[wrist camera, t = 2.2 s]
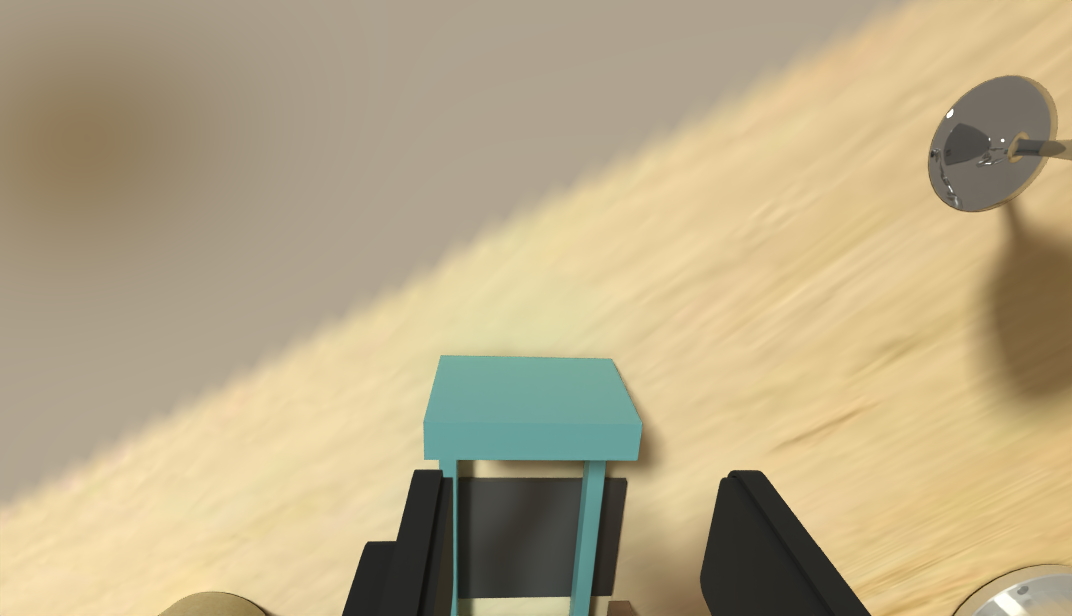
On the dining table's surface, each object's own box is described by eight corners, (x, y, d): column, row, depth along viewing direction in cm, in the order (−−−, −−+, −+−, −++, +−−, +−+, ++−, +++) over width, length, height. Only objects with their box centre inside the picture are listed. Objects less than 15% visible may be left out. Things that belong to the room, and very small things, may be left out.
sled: (611, 358, 30) (642, 424, 23) (571, 711, 40) (585, 825, 34) (441, 355, 29) (423, 422, 23) (445, 715, 40) (433, 833, 33)
